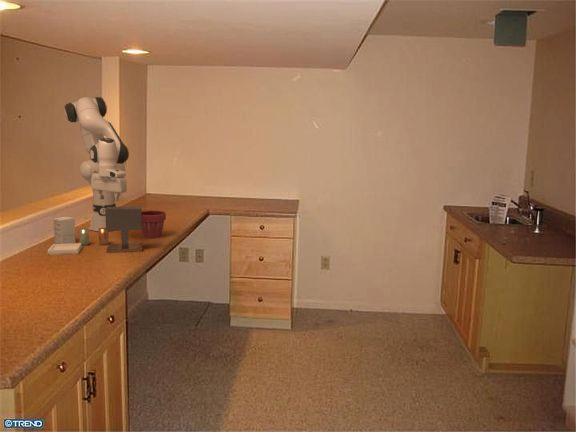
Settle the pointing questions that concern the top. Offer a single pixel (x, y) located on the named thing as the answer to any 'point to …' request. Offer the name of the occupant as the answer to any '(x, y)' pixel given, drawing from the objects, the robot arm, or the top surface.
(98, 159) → the robot arm
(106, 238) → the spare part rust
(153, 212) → the plant pot
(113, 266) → the top surface
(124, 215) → the mounted unit
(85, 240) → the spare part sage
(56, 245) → the tray
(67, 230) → the supplement box
